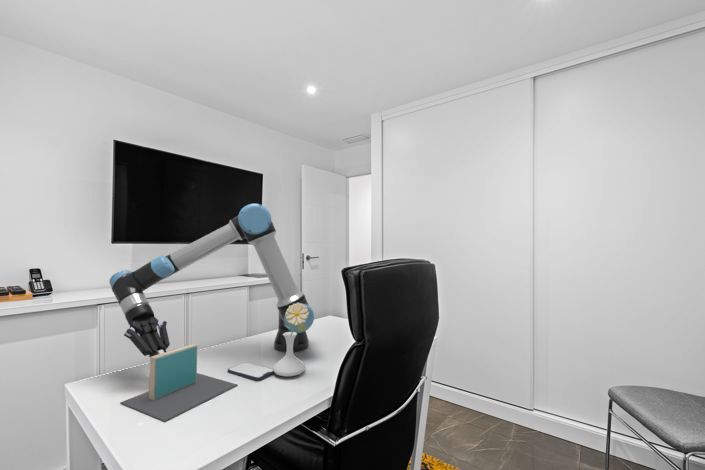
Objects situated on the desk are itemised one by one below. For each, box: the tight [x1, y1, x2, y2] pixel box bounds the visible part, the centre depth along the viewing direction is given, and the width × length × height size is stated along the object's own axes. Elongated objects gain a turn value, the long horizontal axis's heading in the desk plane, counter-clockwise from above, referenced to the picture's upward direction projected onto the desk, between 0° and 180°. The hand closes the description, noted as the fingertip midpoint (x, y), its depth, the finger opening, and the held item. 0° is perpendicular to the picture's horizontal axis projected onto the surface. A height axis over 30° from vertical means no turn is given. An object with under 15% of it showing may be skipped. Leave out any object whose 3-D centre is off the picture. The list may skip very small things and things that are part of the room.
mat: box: [120, 372, 238, 423], centre depth 97 cm, size 24×20×1 cm
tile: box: [148, 343, 198, 400], centre depth 99 cm, size 14×2×12 cm, turn 153°
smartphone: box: [227, 362, 276, 382], centre depth 114 cm, size 9×2×16 cm
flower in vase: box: [272, 303, 309, 377], centre depth 114 cm, size 13×11×25 cm
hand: (167, 369), depth 101 cm, fingers closed
